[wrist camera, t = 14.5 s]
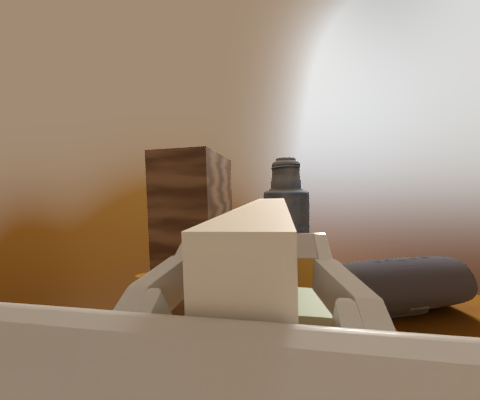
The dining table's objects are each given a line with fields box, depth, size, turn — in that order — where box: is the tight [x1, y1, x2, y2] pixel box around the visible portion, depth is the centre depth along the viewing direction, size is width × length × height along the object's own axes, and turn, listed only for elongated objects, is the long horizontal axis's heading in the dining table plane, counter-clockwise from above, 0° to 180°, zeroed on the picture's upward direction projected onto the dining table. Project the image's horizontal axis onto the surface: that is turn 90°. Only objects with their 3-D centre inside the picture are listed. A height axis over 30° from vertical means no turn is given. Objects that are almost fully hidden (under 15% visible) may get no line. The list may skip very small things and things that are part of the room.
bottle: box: [264, 158, 309, 233], centre depth 50 cm, size 10×10×30 cm
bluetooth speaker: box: [342, 256, 478, 318], centre depth 42 cm, size 23×9×10 cm, turn 98°
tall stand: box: [145, 146, 232, 316], centre depth 43 cm, size 17×10×30 cm, turn 170°
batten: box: [181, 198, 299, 324], centre depth 20 cm, size 26×4×4 cm, turn 170°
